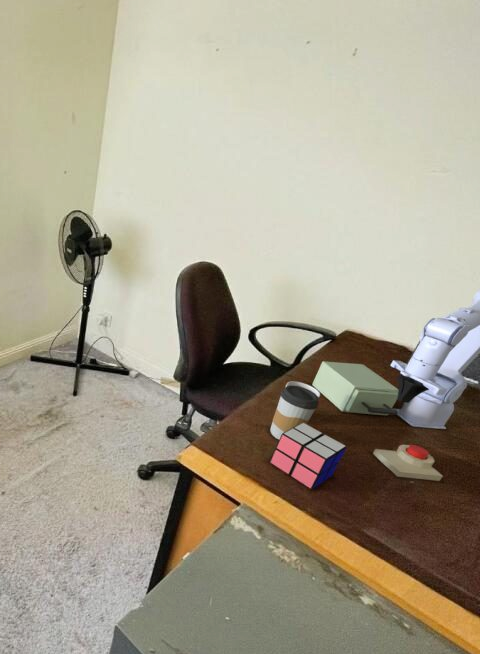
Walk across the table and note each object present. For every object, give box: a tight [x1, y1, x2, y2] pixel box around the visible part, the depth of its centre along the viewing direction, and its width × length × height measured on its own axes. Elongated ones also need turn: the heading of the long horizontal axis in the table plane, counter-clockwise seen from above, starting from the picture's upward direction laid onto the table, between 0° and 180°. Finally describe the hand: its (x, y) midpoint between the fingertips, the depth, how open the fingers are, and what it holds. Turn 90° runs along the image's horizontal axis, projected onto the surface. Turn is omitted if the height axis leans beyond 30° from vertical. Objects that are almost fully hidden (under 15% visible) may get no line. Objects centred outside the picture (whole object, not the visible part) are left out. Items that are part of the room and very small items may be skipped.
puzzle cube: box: [269, 423, 348, 490], centre depth 104 cm, size 10×10×10 cm
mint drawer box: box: [311, 361, 399, 416], centre depth 132 cm, size 15×13×10 cm
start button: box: [407, 444, 430, 460], centre depth 107 cm, size 4×4×2 cm
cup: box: [284, 380, 321, 399], centre depth 124 cm, size 8×8×10 cm
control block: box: [372, 444, 444, 482], centre depth 107 cm, size 11×9×4 cm
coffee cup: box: [269, 385, 320, 440], centre depth 114 cm, size 8×8×15 cm
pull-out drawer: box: [346, 389, 398, 416], centre depth 129 cm, size 18×11×8 cm, turn 173°
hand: (402, 401), depth 117 cm, fingers closed
